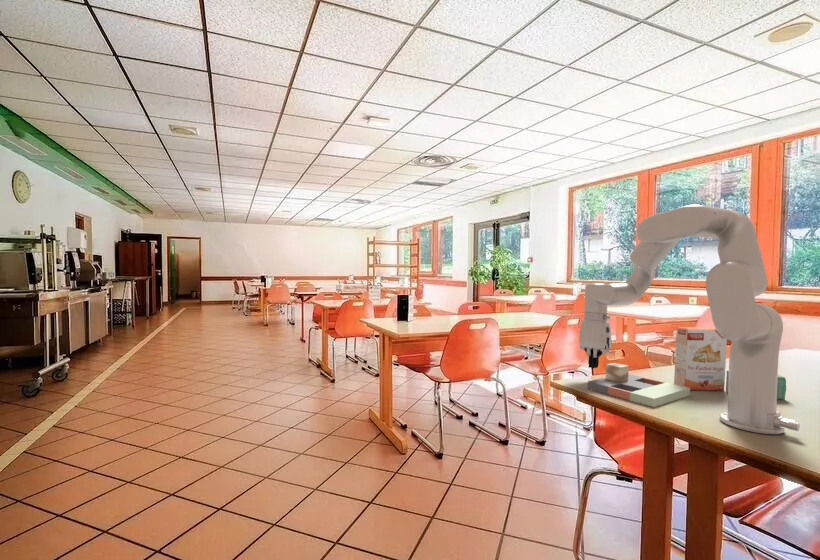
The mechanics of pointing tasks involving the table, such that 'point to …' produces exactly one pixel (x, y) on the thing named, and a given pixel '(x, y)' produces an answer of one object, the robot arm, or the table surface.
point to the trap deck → (641, 390)
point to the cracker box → (700, 358)
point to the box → (780, 386)
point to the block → (617, 372)
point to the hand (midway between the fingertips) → (593, 367)
